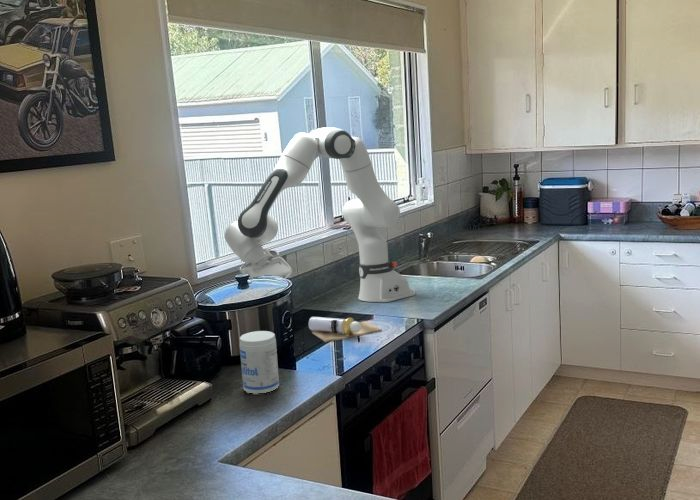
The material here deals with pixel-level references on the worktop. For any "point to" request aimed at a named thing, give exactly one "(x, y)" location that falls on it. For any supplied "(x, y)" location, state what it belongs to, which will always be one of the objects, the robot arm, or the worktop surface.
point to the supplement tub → (259, 362)
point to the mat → (330, 336)
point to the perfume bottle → (334, 325)
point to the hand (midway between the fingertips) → (281, 290)
